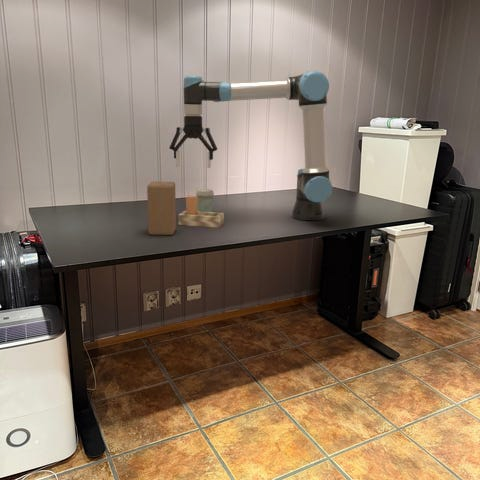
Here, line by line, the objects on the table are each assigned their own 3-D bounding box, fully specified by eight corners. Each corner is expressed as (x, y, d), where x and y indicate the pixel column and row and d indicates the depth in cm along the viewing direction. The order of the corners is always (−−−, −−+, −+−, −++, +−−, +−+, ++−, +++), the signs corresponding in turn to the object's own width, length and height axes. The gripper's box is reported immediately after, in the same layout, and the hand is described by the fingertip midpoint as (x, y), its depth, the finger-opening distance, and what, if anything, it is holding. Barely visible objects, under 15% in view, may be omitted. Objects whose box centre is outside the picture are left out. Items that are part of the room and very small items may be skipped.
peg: (197, 222, 207) (197, 195, 204) (195, 224, 203) (195, 197, 200) (189, 222, 208) (188, 195, 205) (186, 224, 204) (186, 196, 201)
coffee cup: (197, 217, 217) (197, 191, 214) (194, 213, 225) (194, 188, 222) (215, 216, 219) (215, 191, 216) (211, 213, 227) (211, 188, 224)
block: (176, 229, 194) (175, 181, 189) (173, 235, 185) (172, 185, 179) (151, 229, 194) (150, 181, 189) (148, 235, 184) (146, 184, 179)
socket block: (223, 222, 208) (223, 213, 206) (219, 227, 199) (219, 217, 198) (184, 220, 211) (184, 210, 209) (178, 224, 202) (178, 214, 201)
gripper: (224, 116, 195) (223, 167, 201) (167, 114, 199) (168, 164, 205) (220, 116, 188) (220, 169, 194) (161, 114, 192) (162, 166, 198)
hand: (193, 167), depth 199 cm, fingers open, 13 cm apart
